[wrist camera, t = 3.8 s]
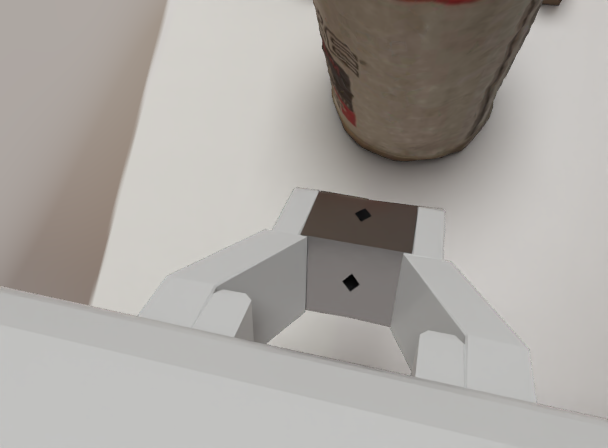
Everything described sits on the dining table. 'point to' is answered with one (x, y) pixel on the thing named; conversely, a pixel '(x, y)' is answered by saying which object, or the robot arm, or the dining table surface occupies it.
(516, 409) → the robot arm
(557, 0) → the walnut trough
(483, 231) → the dining table surface
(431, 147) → the spray can
